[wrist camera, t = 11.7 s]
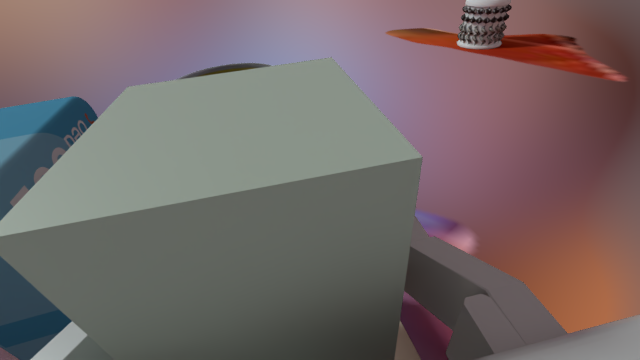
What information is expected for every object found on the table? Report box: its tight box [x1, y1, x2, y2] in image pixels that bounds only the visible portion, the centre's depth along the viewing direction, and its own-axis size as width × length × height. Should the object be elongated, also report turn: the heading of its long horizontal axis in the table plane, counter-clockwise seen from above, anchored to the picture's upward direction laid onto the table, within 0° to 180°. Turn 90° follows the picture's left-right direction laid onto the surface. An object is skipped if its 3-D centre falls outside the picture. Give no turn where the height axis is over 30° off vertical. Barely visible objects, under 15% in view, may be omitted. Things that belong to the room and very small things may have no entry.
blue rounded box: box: [0, 97, 98, 360], centre depth 19 cm, size 12×4×12 cm, turn 17°
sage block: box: [0, 58, 422, 360], centre depth 8 cm, size 5×5×10 cm
